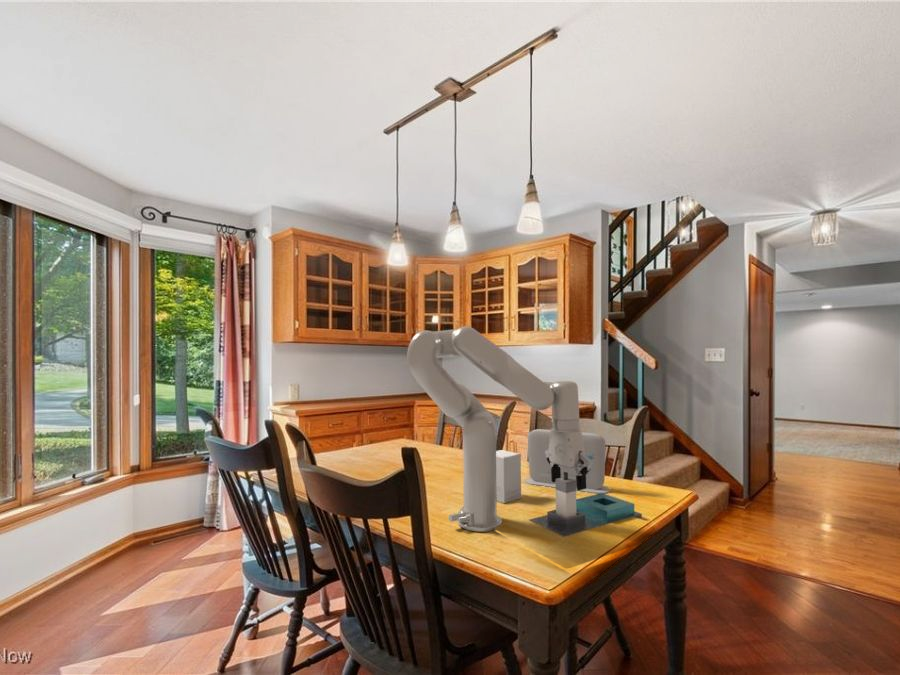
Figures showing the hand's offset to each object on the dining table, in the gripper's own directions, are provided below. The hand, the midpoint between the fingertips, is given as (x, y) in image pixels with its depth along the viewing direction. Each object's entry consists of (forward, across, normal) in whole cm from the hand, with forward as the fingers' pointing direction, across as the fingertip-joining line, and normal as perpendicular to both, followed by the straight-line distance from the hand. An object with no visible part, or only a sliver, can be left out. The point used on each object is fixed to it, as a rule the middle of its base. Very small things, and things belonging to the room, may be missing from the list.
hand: (568, 485), depth 130 cm
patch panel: (+12, -1, +7) cm, 14 cm away
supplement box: (+11, -30, -1) cm, 32 cm away
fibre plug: (+10, -1, -1) cm, 10 cm away
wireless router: (+12, -29, +27) cm, 41 cm away
